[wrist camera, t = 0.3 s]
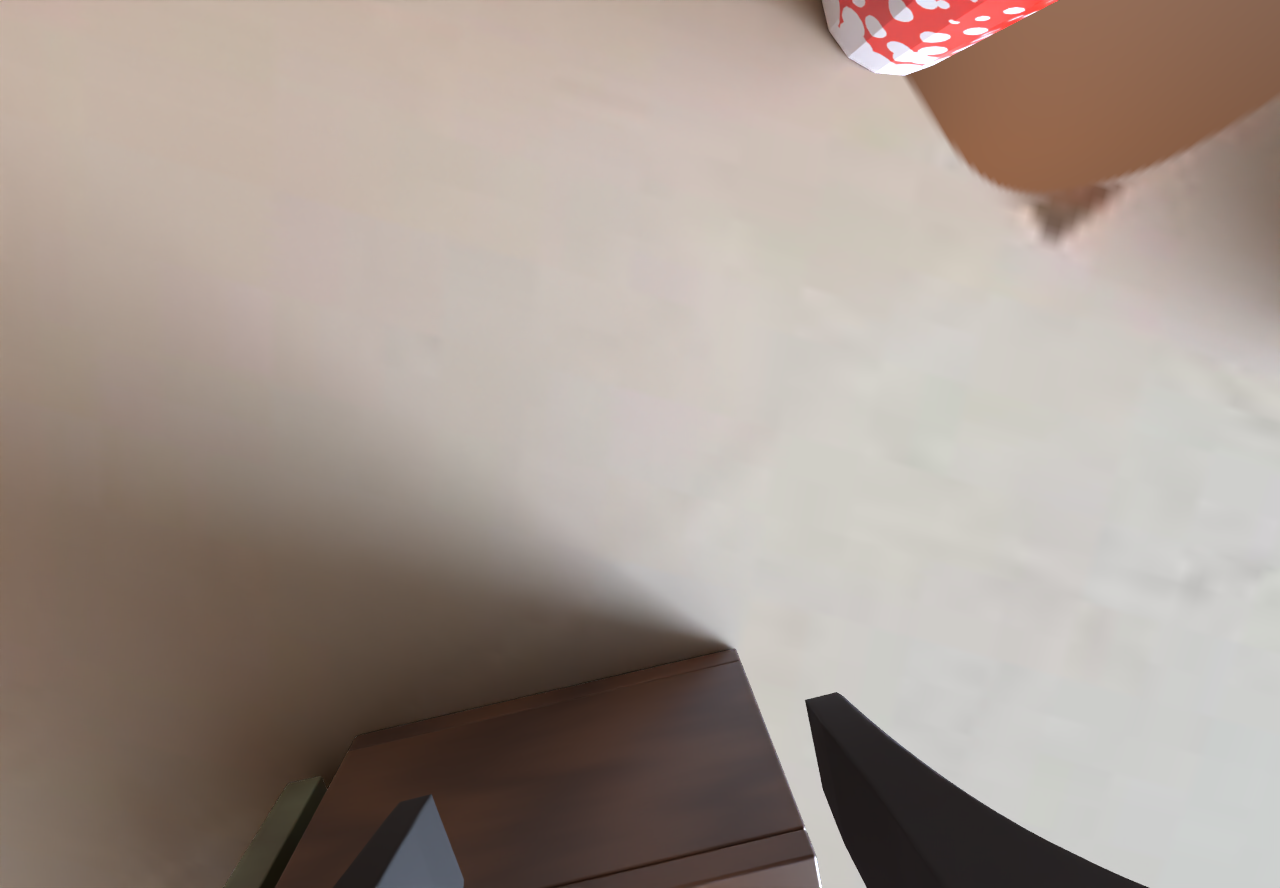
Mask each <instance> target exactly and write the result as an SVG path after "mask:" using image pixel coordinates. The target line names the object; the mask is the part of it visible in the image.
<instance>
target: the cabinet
mask: <svg viewBox="0 0 1280 888" xmlns="http://www.w3.org/2000/svg"><path fill="white" fill-rule="evenodd" d="M429 794H432V797H433V800H434V802H435V805H436V807H437V810H438V813H439V815H440V818H441V821H442V823H443V826H444V828H445V831H446V834H447V836H448V839H449V842H450V844H451V847H452V850H453V852H454V855H455V857H456V860H457V863H458V865H459V868H460V871H461V873H462V876H463V878H464V886H463V888H822V885H821V879H820V874H819V868H818V863H817V857H816V854H815V851H814V849H813V846H812V844H811V841H810V838H809V836H808V833H807V832H806V829H805V825H804V823H803V820H802V818H801V815H800V812H799V810H798V807H797V805H796V802H795V800H794V797H793V794H792V792H791V789H790V787H789V784H788V782H787V779H786V776H785V774H784V771H783V769H782V766H781V764H780V761H779V758H778V756H777V753H776V751H775V748H774V746H773V743H772V740H771V738H770V735H769V733H768V730H767V728H766V725H765V722H764V720H763V717H762V715H761V712H760V710H759V707H758V704H757V702H756V699H755V697H754V694H753V691H752V689H751V686H750V684H749V681H748V679H747V676H746V673H745V671H744V668H743V666H742V663H741V661H740V658H739V656H738V653H737V651H736V649H730V650H726V651H721V652H717V653H713V654H708V655H704V656H700V657H695V658H691V659H687V660H682V661H678V662H674V663H669V664H665V665H661V666H656V667H652V668H648V669H643V670H639V671H635V672H630V673H626V674H622V675H618V676H613V677H609V678H605V679H600V680H596V681H592V682H587V683H583V684H579V685H574V686H570V687H566V688H561V689H557V690H553V691H548V692H544V693H540V694H535V695H531V696H527V697H522V698H518V699H514V700H509V701H505V702H501V703H496V704H492V705H488V706H483V707H479V708H475V709H470V710H466V711H462V712H457V713H453V714H449V715H444V716H440V717H436V718H431V719H427V720H423V721H418V722H414V723H410V724H405V725H401V726H397V727H392V728H388V729H384V730H379V731H375V732H371V733H366V734H362V735H358V736H356V737H355V739H354V741H353V742H352V744H351V746H350V748H349V751H348V752H347V753H346V755H345V757H344V759H343V761H342V763H341V765H340V766H339V768H338V770H337V772H336V774H335V776H334V778H333V780H332V781H331V783H330V785H329V787H328V789H327V791H326V793H325V795H324V796H323V798H322V800H321V802H320V804H319V806H318V808H317V810H316V811H315V813H314V815H313V817H312V819H311V821H310V823H309V825H308V826H307V828H306V830H305V832H304V834H303V836H302V838H301V840H300V841H299V843H298V845H297V847H296V849H295V851H294V853H293V855H292V856H291V858H290V860H289V862H288V864H287V866H286V868H285V870H284V871H283V873H282V875H281V877H280V879H279V881H278V883H277V885H276V886H275V888H333V887H334V885H335V884H336V883H337V881H338V880H339V879H340V878H341V876H342V875H343V874H344V873H345V871H346V870H347V869H348V867H349V866H350V865H351V864H352V862H353V861H354V860H355V858H356V857H357V856H358V854H359V853H360V852H361V851H362V849H363V848H364V847H365V845H366V844H367V843H368V841H369V840H370V839H371V837H372V836H373V835H374V834H375V832H376V831H377V830H378V828H379V827H380V826H381V825H382V823H383V822H384V821H385V819H386V818H387V817H388V816H389V814H390V813H391V812H392V811H393V809H394V808H395V807H396V806H397V805H398V804H399V802H402V801H406V800H410V799H414V798H418V797H422V796H426V795H429Z"/></svg>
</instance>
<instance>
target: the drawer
mask: <svg viewBox="0 0 1280 888" xmlns="http://www.w3.org/2000/svg"><path fill="white" fill-rule="evenodd" d="M326 791H327V788H326V786H325V783H324V781H323V778H322V776H318V777H314V778H310V779H305V780H301V781H297V782H292V783H289V784H287V786H286V787H285V789H284V790H283V792H282V794H281V795H280V797H279V798H278V800H277V802H276V803H275V805H274V806H273V808H272V810H271V811H270V813H269V815H268V816H267V818H266V819H265V821H264V823H263V824H262V826H261V827H260V829H259V831H258V832H257V834H256V836H255V837H254V839H253V840H252V842H251V844H250V845H249V847H248V848H247V850H246V852H245V853H244V855H243V857H242V858H241V860H240V861H239V863H238V865H237V866H236V868H235V869H234V871H233V873H232V874H231V876H230V878H229V879H228V881H227V882H226V884H225V886H224V887H223V888H275V886H276V885H277V883H278V881H279V879H280V877H281V875H282V873H283V871H284V870H285V868H286V866H287V864H288V862H289V860H290V858H291V856H292V855H293V853H294V851H295V849H296V847H297V845H298V843H299V841H300V840H301V838H302V836H303V834H304V832H305V830H306V828H307V826H308V825H309V823H310V821H311V819H312V817H313V815H314V813H315V811H316V810H317V808H318V806H319V804H320V802H321V800H322V798H323V796H324V795H325V793H326Z"/></svg>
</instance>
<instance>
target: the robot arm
mask: <svg viewBox="0 0 1280 888" xmlns="http://www.w3.org/2000/svg"><path fill="white" fill-rule="evenodd" d="M805 702H806V707H807V712H808V717H809V722H810V727H811V732H812V737H813V742H814V747H815V752H816V757H817V762H818V767H819V772H820V777H821V782H822V787H823V791H824V793H825V796H826V799H827V801H828V804H829V806H830V809H831V811H832V814H833V816H834V819H835V822H836V824H837V826H838V829H839V831H840V834H841V836H842V839H843V841H844V844H845V846H846V848H847V850H848V852H849V854H850V856H851V858H852V860H853V862H854V864H855V866H856V868H857V869H858V871H859V873H860V875H861V877H862V879H863V881H864V883H865V885H866V887H867V888H1148V887H1146V886H1144V885H1141V884H1139V883H1136V882H1134V881H1131V880H1129V879H1127V878H1124V877H1122V876H1120V875H1118V874H1115V873H1113V872H1111V871H1109V870H1107V869H1104V868H1102V867H1100V866H1098V865H1096V864H1094V863H1092V862H1090V861H1088V860H1086V859H1084V858H1082V857H1079V856H1077V855H1075V854H1073V853H1071V852H1069V851H1067V850H1065V849H1063V848H1061V847H1059V846H1057V845H1055V844H1053V843H1051V842H1049V841H1047V840H1045V839H1043V838H1041V837H1039V836H1038V835H1036V834H1034V833H1032V832H1030V831H1028V830H1026V829H1025V828H1023V827H1021V826H1020V825H1018V824H1016V823H1014V822H1013V821H1011V820H1009V819H1008V818H1006V817H1004V816H1002V815H1001V814H999V813H997V812H996V811H994V810H992V809H991V808H989V807H988V806H986V805H984V804H983V803H981V802H980V801H978V800H977V799H975V798H974V797H972V796H970V795H969V794H967V793H966V792H964V791H963V790H962V789H960V788H959V787H957V786H956V785H954V784H953V783H951V782H950V781H948V780H947V779H945V778H944V777H943V776H941V775H940V774H938V773H937V772H936V771H934V770H933V769H931V768H930V767H929V766H927V765H926V764H925V763H923V762H922V761H921V760H919V759H918V758H917V757H915V756H914V755H913V754H911V753H910V752H909V751H908V750H906V749H905V748H904V747H902V746H901V745H900V744H898V743H897V742H896V741H895V740H893V739H892V738H891V737H890V736H888V735H887V734H886V733H885V732H884V731H882V730H881V729H880V728H879V727H878V726H876V725H875V724H874V723H873V722H872V721H870V720H869V719H868V718H867V717H866V716H865V715H864V714H862V713H861V712H860V711H859V710H858V709H857V708H856V707H854V706H853V705H852V704H851V703H850V702H849V701H848V700H847V699H846V698H845V697H843V696H842V695H840V694H839V693H837V692H836V693H832V694H828V695H824V696H820V697H816V698H812V699H808V700H805ZM463 886H464V878H463V876H462V873H461V871H460V868H459V865H458V863H457V860H456V857H455V855H454V852H453V850H452V847H451V844H450V842H449V839H448V836H447V834H446V831H445V828H444V826H443V823H442V821H441V818H440V815H439V813H438V810H437V807H436V805H435V802H434V800H433V797H432V794H429V795H426V796H422V797H418V798H414V799H410V800H406V801H402V802H399V804H398V805H397V806H396V807H395V808H394V809H393V811H392V812H391V813H390V814H389V816H388V817H387V818H386V819H385V821H384V822H383V823H382V825H381V826H380V827H379V828H378V830H377V831H376V832H375V834H374V835H373V836H372V837H371V839H370V840H369V841H368V843H367V844H366V845H365V847H364V848H363V849H362V851H361V852H360V853H359V854H358V856H357V857H356V858H355V860H354V861H353V862H352V864H351V865H350V866H349V867H348V869H347V870H346V871H345V873H344V874H343V875H342V876H341V878H340V879H339V880H338V881H337V883H336V884H335V885H334V887H333V888H463Z"/></svg>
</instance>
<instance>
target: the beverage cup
mask: <svg viewBox="0 0 1280 888" xmlns="http://www.w3.org/2000/svg"><path fill="white" fill-rule="evenodd" d="M1056 1H1058V0H822V4H823V8H824V12H825V16H826V21H827V25H828V29H829V31H830V33H831V34H832V36H833V37H834V38H835V40H836V41H837V43H838V44H839V45H840V47H841V48H842V50H843V51H844V53H845V54H846V55H847V57H848V58H850V59H852V60H853V61H855V62H857V63H858V64H860V65H862V66H863V67H865V68H867V69H868V70H870V71H872V72H874V73H881V74H893V75H907V74H910V73H913V72H915V71H918V70H921V69H923V68H926V67H928V66H932V65H934V64H936V63H938V62H940V61H942V60H944V59H946V58H948V57H950V56H952V55H953V54H955V53H957V52H959V51H961V50H963V49H965V48H967V47H969V46H971V45H973V44H975V43H977V42H979V41H980V40H982V39H984V38H986V37H988V36H990V35H992V34H994V33H996V32H998V31H1000V30H1002V29H1004V28H1006V27H1008V26H1010V25H1011V24H1013V23H1015V22H1017V21H1019V20H1021V19H1023V18H1025V17H1027V16H1029V15H1031V14H1032V13H1035V12H1036V11H1038V10H1040V9H1042V8H1044V7H1046V6H1048V5H1050V4H1052V3H1054V2H1056Z"/></svg>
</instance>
